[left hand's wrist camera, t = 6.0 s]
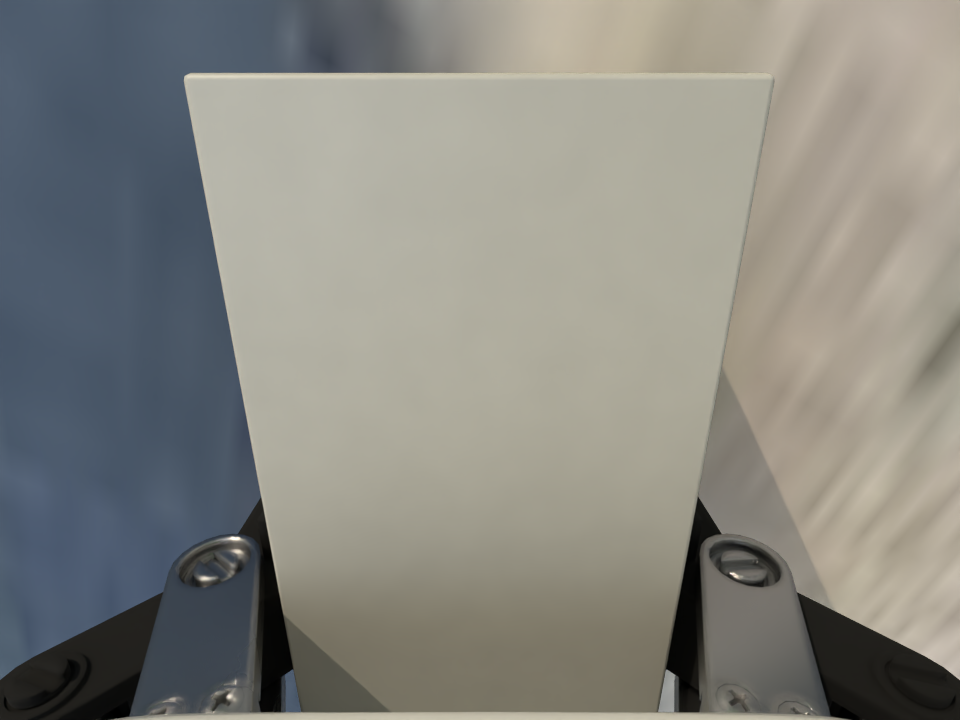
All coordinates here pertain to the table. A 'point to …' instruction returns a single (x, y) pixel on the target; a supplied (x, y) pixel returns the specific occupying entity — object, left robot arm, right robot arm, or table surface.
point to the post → (479, 365)
